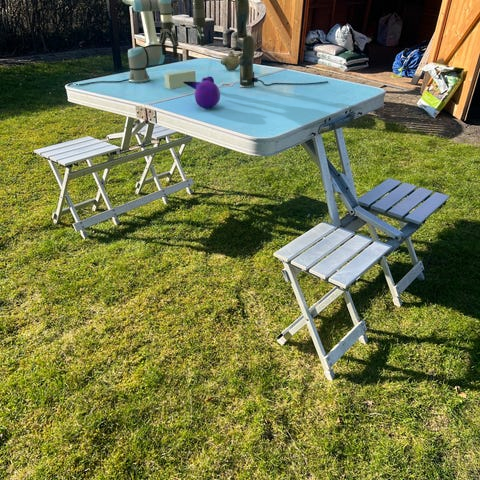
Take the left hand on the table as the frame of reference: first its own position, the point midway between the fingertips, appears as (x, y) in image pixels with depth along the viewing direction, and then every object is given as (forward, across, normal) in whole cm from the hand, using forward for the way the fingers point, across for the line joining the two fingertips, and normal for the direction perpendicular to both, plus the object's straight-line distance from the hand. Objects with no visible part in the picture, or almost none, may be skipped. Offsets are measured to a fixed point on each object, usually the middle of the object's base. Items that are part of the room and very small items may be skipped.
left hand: (169, 56), depth 306 cm
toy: (+20, -59, +17) cm, 64 cm away
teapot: (+21, +20, -73) cm, 79 cm away
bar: (+21, 0, -7) cm, 22 cm away
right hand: (-9, -29, -5) cm, 31 cm away
